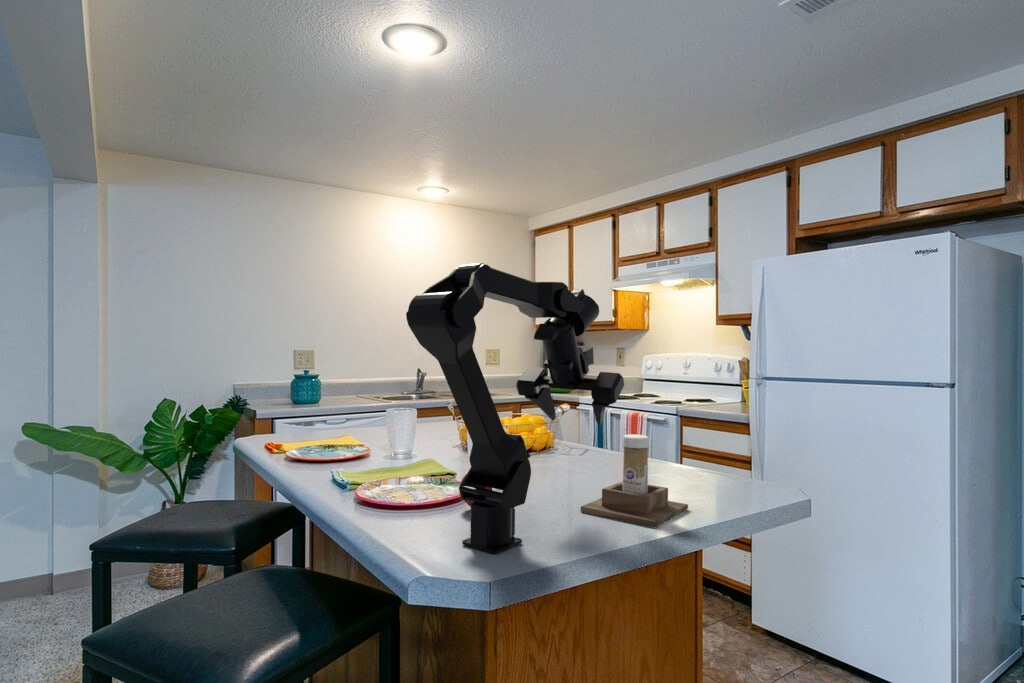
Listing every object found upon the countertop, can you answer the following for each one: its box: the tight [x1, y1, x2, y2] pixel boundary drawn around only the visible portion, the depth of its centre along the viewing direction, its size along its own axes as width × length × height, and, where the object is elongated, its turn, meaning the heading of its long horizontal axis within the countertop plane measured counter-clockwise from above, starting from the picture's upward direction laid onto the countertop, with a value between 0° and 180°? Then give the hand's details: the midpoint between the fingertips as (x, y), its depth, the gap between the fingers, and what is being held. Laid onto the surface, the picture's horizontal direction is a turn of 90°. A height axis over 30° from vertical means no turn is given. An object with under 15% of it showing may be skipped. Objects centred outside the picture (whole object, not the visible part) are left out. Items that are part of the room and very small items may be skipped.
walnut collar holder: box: [580, 481, 689, 529], centre depth 105 cm, size 14×14×4 cm
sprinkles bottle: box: [622, 433, 650, 495], centre depth 105 cm, size 5×5×13 cm
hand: (576, 421), depth 108 cm, fingers open, 9 cm apart
